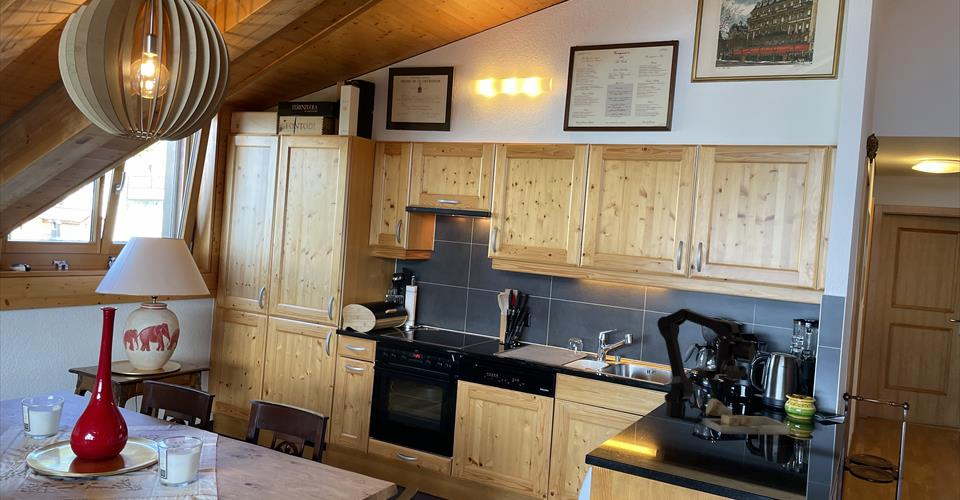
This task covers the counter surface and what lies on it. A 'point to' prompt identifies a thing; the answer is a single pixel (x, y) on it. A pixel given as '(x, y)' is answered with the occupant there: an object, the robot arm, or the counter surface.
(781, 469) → the counter surface
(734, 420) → the chip
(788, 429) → the rail board
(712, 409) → the cream ceramic pitcher
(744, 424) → the chip
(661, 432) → the counter surface
